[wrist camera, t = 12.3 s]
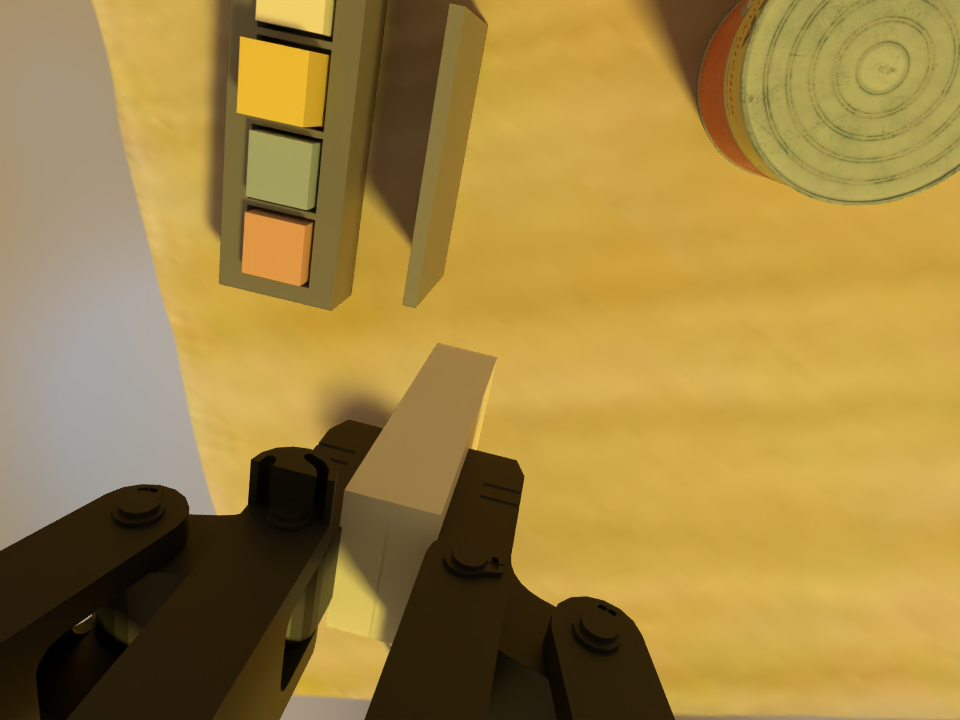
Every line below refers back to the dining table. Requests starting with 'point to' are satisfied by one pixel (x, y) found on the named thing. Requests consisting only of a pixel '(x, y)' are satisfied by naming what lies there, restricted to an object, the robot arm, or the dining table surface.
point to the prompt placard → (445, 150)
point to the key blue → (284, 167)
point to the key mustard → (282, 83)
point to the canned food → (837, 95)
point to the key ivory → (299, 15)
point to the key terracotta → (277, 246)
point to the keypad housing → (341, 150)
